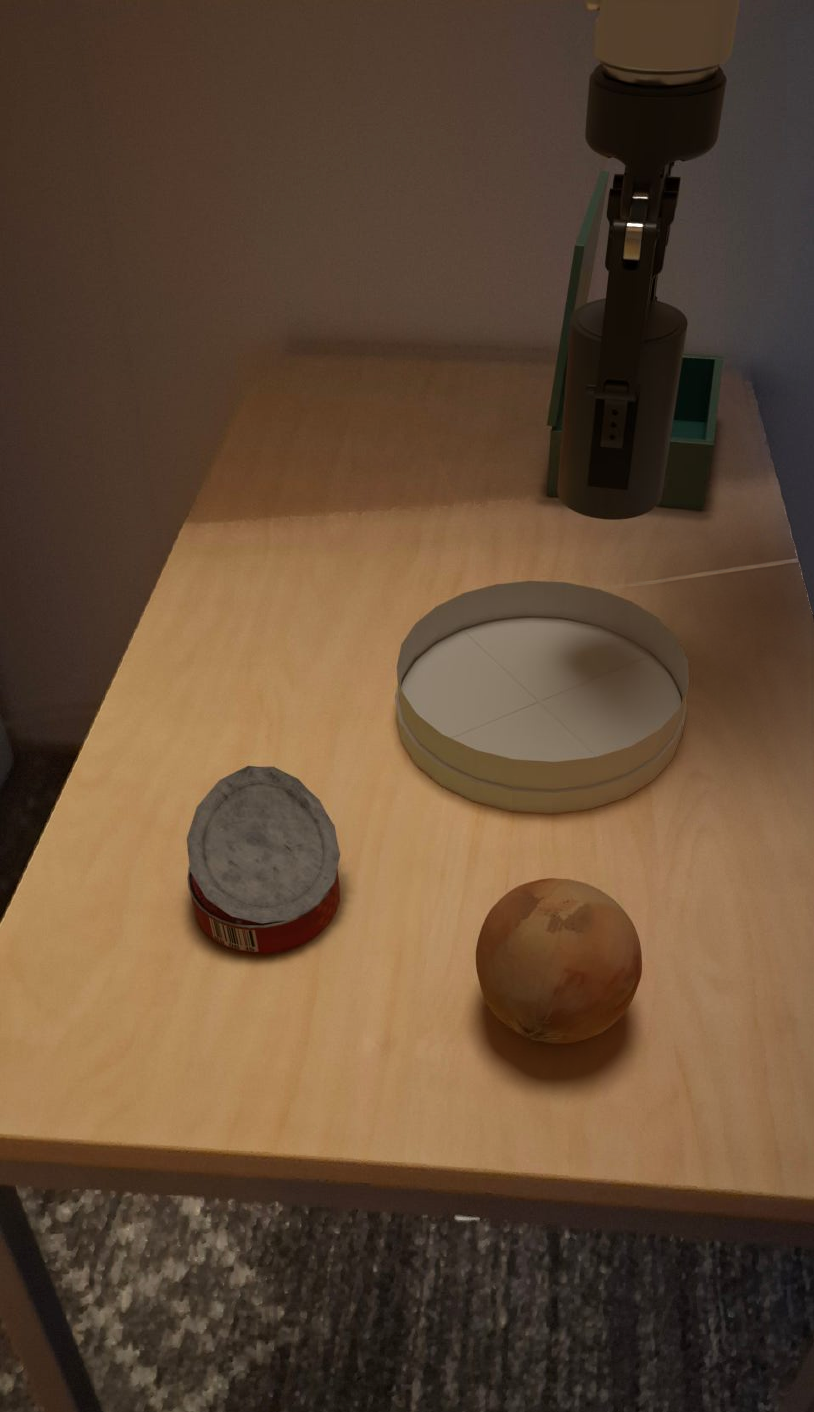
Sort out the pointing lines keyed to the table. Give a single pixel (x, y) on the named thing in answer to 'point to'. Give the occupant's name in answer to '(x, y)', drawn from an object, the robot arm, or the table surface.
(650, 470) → the gray cylinder
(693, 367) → the green box
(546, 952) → the onion
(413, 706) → the dish
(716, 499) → the table surface
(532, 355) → the table surface
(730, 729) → the table surface
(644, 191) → the robot arm
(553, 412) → the lid
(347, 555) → the table surface
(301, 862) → the canned food
